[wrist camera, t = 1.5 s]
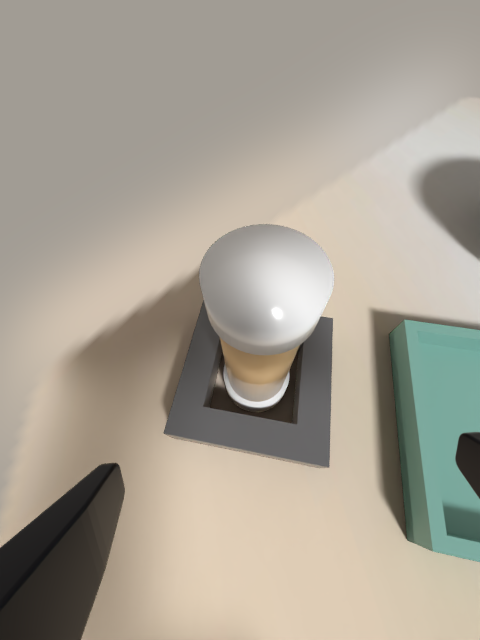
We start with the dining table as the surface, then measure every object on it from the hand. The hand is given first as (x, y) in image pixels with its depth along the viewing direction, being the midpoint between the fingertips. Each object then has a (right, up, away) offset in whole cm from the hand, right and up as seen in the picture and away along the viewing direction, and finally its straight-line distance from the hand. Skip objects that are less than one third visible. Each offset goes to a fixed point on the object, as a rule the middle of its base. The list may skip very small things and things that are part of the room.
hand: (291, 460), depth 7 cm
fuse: (0, -1, +14) cm, 14 cm away
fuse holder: (0, -1, +14) cm, 14 cm away
